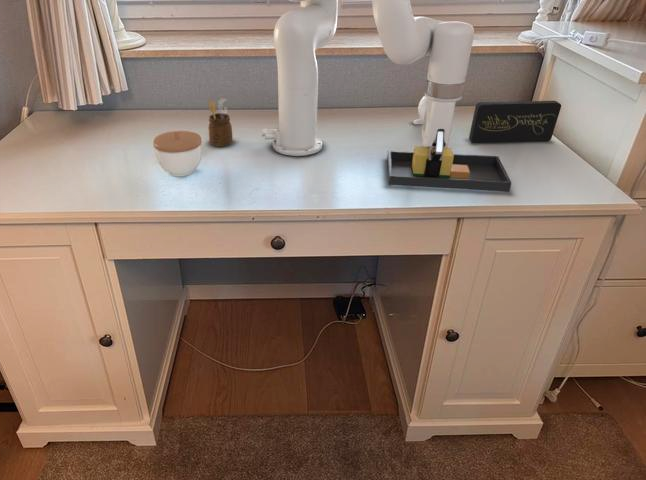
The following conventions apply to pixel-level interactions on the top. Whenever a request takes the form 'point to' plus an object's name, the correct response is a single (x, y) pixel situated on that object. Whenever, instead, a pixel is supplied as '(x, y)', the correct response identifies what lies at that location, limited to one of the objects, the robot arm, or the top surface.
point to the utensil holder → (219, 127)
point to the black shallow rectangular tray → (482, 177)
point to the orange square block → (460, 171)
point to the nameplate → (514, 121)
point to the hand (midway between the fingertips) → (430, 170)
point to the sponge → (422, 156)
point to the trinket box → (178, 152)
